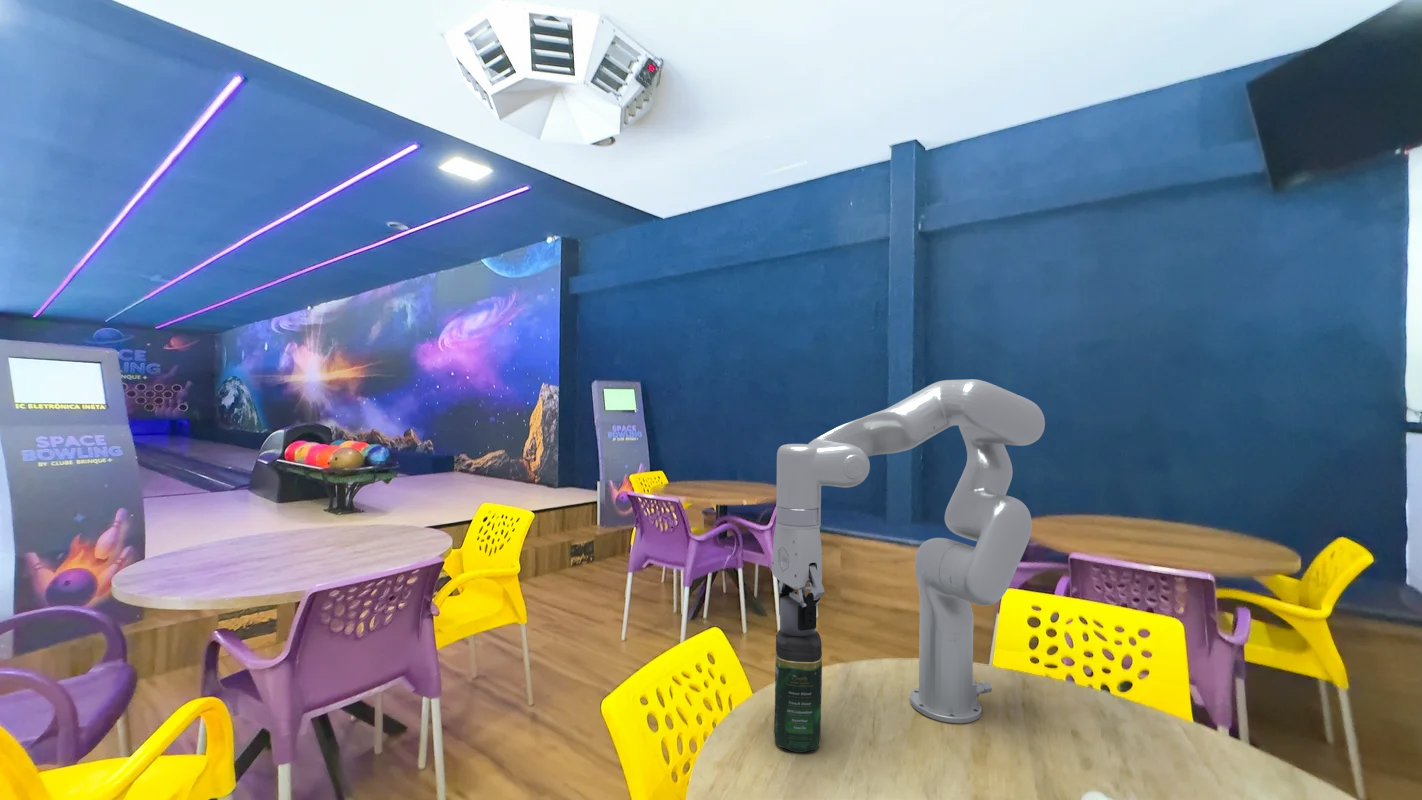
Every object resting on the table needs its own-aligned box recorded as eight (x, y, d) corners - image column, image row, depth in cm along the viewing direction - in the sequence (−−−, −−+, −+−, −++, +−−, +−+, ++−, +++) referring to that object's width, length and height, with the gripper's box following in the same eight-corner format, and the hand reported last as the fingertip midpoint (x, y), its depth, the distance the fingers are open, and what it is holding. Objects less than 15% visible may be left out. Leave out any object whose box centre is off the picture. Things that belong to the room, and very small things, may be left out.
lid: (774, 625, 105) (774, 593, 105) (804, 621, 108) (805, 589, 108) (789, 638, 100) (790, 604, 100) (822, 633, 102) (822, 600, 102)
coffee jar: (822, 756, 98) (824, 642, 98) (773, 752, 99) (774, 639, 99) (819, 725, 108) (820, 620, 108) (774, 721, 109) (775, 618, 109)
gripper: (757, 509, 110) (756, 608, 110) (803, 528, 94) (802, 644, 94) (793, 507, 113) (792, 604, 113) (845, 525, 97) (844, 638, 97)
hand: (797, 621), depth 104 cm, fingers closed on lid, 5 cm apart
